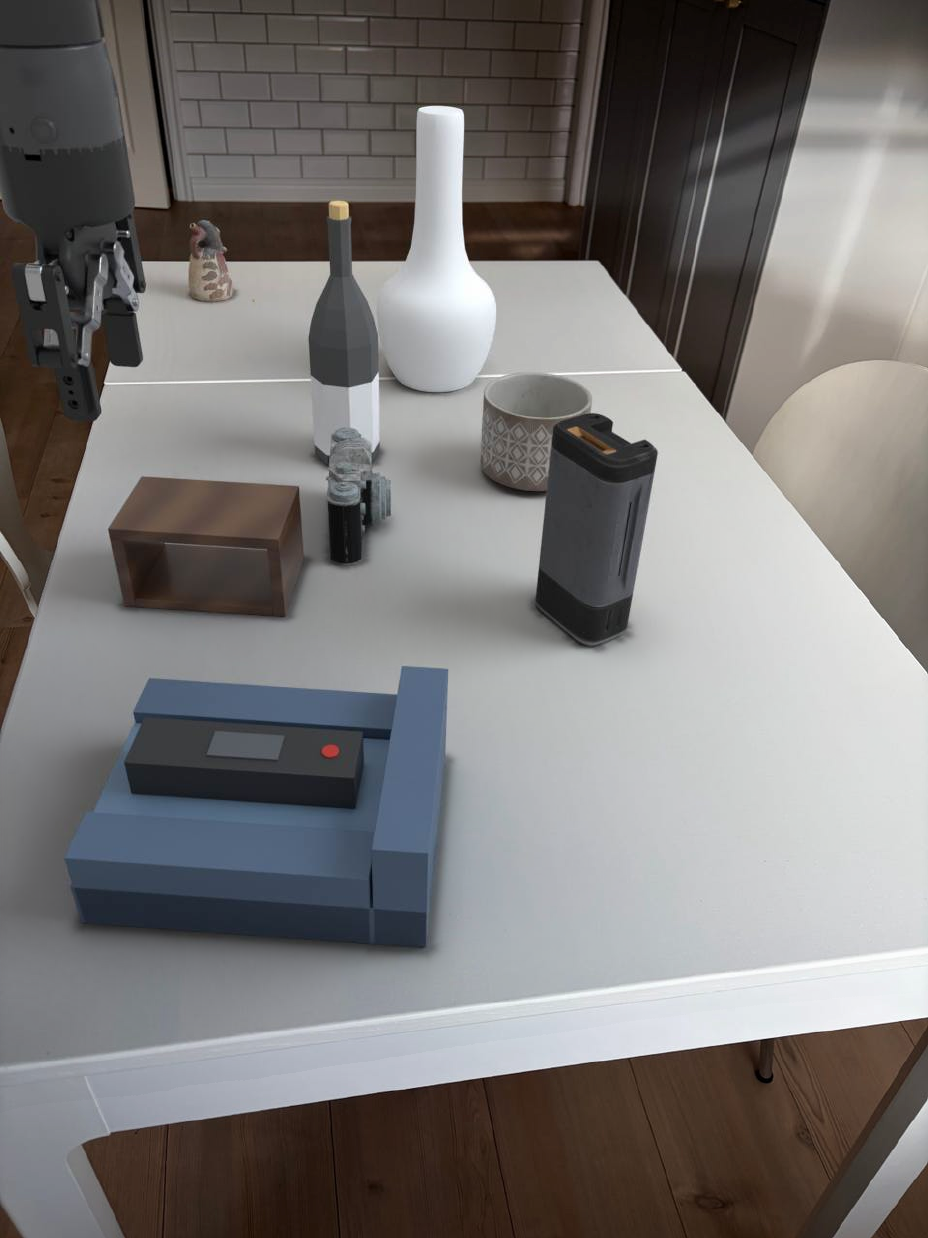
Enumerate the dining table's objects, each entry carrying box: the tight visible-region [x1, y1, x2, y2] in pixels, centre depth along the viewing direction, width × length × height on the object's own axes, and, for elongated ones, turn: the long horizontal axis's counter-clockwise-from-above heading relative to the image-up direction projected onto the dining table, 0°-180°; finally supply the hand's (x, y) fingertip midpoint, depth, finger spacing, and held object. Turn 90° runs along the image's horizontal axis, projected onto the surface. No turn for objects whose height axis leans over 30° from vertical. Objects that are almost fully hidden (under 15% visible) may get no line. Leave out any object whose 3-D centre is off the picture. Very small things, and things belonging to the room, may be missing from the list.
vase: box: [376, 105, 497, 393], centre depth 133 cm, size 17×17×35 cm
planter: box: [479, 371, 593, 492], centre depth 119 cm, size 13×13×10 cm
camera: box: [325, 428, 392, 566], centre depth 107 cm, size 15×7×10 cm, turn 4°
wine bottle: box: [307, 200, 381, 467], centre depth 115 cm, size 8×8×30 cm
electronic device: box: [534, 412, 659, 647], centre depth 93 cm, size 9×6×20 cm, turn 34°
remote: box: [124, 717, 364, 809], centre depth 71 cm, size 16×5×3 cm, turn 87°
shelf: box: [107, 475, 305, 617], centre depth 98 cm, size 16×10×9 cm, turn 87°
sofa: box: [63, 665, 449, 948], centre depth 72 cm, size 24×18×10 cm
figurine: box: [188, 219, 234, 303], centre depth 163 cm, size 7×7×12 cm
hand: (106, 390), depth 67 cm, fingers open, 8 cm apart
